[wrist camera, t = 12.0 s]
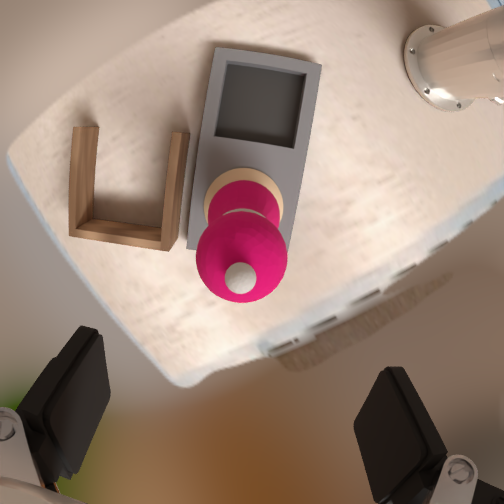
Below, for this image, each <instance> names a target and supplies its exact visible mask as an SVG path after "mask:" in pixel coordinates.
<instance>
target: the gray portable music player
mask: <svg viewBox="0 0 504 504" xmlns="http://www.w3.org/2000/svg"><path fill="white" fill-rule="evenodd" d="M321 67H322V65H321V64H317V63H313V62H308V61H304V60H299V59H294V58H289V57H284V56H278V55H272V54H266V53H260V52H253V51H246V50H238V49H230V48H220V47H215V52H214V57H213V62H212V68H211V73H210V79H209V84H208V90H207V96H206V102H205V108H204V114H203V120H202V126H201V133H200V140H199V146H198V153H197V161H196V168H195V176H194V183H193V192H192V200H191V209H190V218H189V227H188V237H187V247H186V249H191V250H197V245H198V242H199V239H200V237H201V235H202V233H203V232H204V230H205V229H206V228H207V227H208V226H209V225H208V209H209V205H210V202H211V200H212V198H213V196H214V195H215V194H216V193H217V191H218V190H219V189H221V188H222V187H223V186H225V185H227V184H229V183H231V182H234V181H238V180H249V181H254V182H257V183H259V184H261V185H263V186H265V187H266V188H267V189H268V190H269V191H271V193H272V194H273V195H274V197H275V198H276V200H277V203H278V205H279V210H280V223H279V227H278V230H279V231H280V233H281V235H282V237H283V239H284V241H285V243H286V249H287V253H288V248H289V243H290V239H291V234H292V229H293V224H294V219H295V214H296V209H297V204H298V198H299V193H300V188H301V183H302V177H303V172H304V167H305V161H306V156H307V150H308V145H309V139H310V134H311V128H312V122H313V116H314V110H315V104H316V98H317V92H318V86H319V80H320V74H321Z"/></svg>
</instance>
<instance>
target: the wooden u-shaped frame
mask: <svg viewBox="0 0 504 504" xmlns="http://www.w3.org/2000/svg"><path fill="white" fill-rule="evenodd" d="M98 134H99V127H73V136H72V147H71V160H70V178H69V236H72V237H78V238H84V239H90V240H97V241H103V242H109V243H116V244H122V245H129V246H135V247H141V248H148V249H154V250H161V251H168V252H169V251H170V249H171V248H172V246H173V245H174V243H175V242H176V240H177V239H178V232H179V221H180V211H181V202H182V193H183V184H184V176H185V168H186V160H187V153H188V146H189V139H190V133H180V132H172V137H171V145H170V152H169V160H168V169H167V178H166V187H165V197H164V208H163V219H162V228H157V227H150V226H143V225H136V224H129V223H122V222H114V221H107V220H100V219H93V202H94V181H95V166H96V154H97V143H98Z"/></svg>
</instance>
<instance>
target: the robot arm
mask: <svg viewBox="0 0 504 504" xmlns="http://www.w3.org/2000/svg"><path fill="white" fill-rule="evenodd" d="M404 62H405V66H406V70H407V73H408V76H409V78H410V80H411V82H412V84H413V86H414V87H415V89H416V90H417V91H418V93H419V94H420V95H421V96H422V97H423V98H424V99H425V100H426V101H427V102H428V103H430V104H431V105H432V106H434V107H436V108H438V109H440V110H443V111H449V112H455V111H461V110H464V109H466V108H468V107H469V106H470V105H471V104H472V103H473V102H474V100H475V99H477V98H484V99H485V98H488V99H489V100H490V101H492V102H494V103H495V104H497V105H501V104H502V103H503V102H504V5H502V6H500V7H497V8H494V9H492V10H489V11H487V12H484V13H482V14H479V15H476V16H474V17H471V18H469V19H467V20H464V21H462V22H459V23H457V24H455V25H452V26H450V27H448V28H444V27H442V26H437V25H425V26H422V27H420V28H418V29H416V30H415V31H414V32H412V33H411V34H410V36H409V37H408V39H407V41H406V44H405V49H404ZM424 91H425V92H424ZM110 393H111V392H110V386H109V379H108V373H107V366H106V359H105V351H104V343H103V337H102V335H100V334H99V333H98V330H96V329H93V328H90V327H85V326H80V327H79V328H78V329H77V330H76V332H75V333H74V334H73V336H72V337H71V338H70V340H69V341H68V342H67V343H66V345H65V346H64V347H63V349H62V350H61V352H60V353H59V354H58V356H57V357H55V358H53V359H52V360H51V361H50V362H49V363H48V365H47V366H46V368H45V369H44V370H43V372H42V373H41V374H40V376H39V377H38V378H37V380H36V381H35V383H34V384H33V386H32V387H31V388H30V390H29V391H28V393H27V394H26V396H25V397H24V398H23V400H22V402H21V403H20V404H19V406H18V407H17V409H16V411H13V410H11V409H9V408H5V407H0V504H87V503H84V502H81V501H78V500H75V499H72V498H70V497H67V496H64V495H62V494H60V493H59V490H58V487H57V485H56V483H55V482H57V480H58V478H59V476H62V477H64V478H67V479H71V477H72V475H73V473H74V474H77V473H78V471H79V469H80V467H81V465H82V462H83V460H84V457H85V455H86V452H87V450H88V448H89V445H90V443H91V440H92V438H93V436H94V434H95V431H96V429H97V426H98V424H99V422H100V420H101V418H102V415H103V413H104V411H105V409H106V406H107V404H108V402H109V399H110ZM354 432H355V435H356V438H357V442H358V445H359V448H360V452H361V456H362V459H363V462H364V466H365V470H366V473H367V477H368V480H369V484H370V488H371V492H372V495H373V499H374V501H375V502H376V503H378V504H504V491H503V490H501V489H499V488H496V487H494V486H492V485H490V484H488V483H485V482H483V481H481V480H479V479H477V478H478V471H477V467H476V466H475V464H474V463H473V462H472V461H471V460H470V459H469V458H467V457H465V456H462V455H453V456H450V457H449V458H447V456H446V454H447V452H448V451H447V449H446V447H445V445H444V443H443V441H442V439H441V437H440V435H439V433H438V431H437V429H436V427H435V426H434V423H433V422H432V420H431V418H430V416H429V414H428V412H427V410H426V408H425V406H424V405H423V402H422V401H421V399H420V397H419V395H418V393H417V391H416V389H415V388H414V386H413V384H412V382H411V381H410V379H409V377H408V375H407V373H406V372H405V370H404V368H403V367H386V368H385V369H384V371H381V372H380V373H379V375H378V377H377V379H376V381H375V383H374V385H373V387H372V389H371V391H370V393H369V395H368V397H367V399H366V401H365V402H364V404H363V406H362V408H361V410H360V412H359V414H358V415H357V417H356V419H355V421H354Z"/></svg>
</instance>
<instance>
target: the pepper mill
mask: <svg viewBox="0 0 504 504" xmlns="http://www.w3.org/2000/svg"><path fill="white" fill-rule="evenodd" d="M279 223H280V210H279V205H278V203H277V200H276V198H275V197H274V195H273V194H272V193H271V191H269V190H268V189H267V188H266V187H265V186H263V185H261V184H259V183H257V182H254V181H249V180H238V181H234V182H231V183H229V184H227V185H225V186H223V187H222V188H221V189H219V190H218V191H217V193H216V194H215V195H214V196H213V198H212V200H211V202H210V205H209V209H208V225H209V226H208V227H207V228H206V229H205V230H204V232H203V233H202V235H201V237H200V239H199V242H198V245H197V251H196V264H197V269H198V272H199V275H200V277H201V279H202V281H203V282H204V284H205V285H206V286H207V287H208V289H209V290H210V291H211V292H213V293H214V294H215V295H217V296H219V297H221V298H223V299H225V300H228V301H231V302H237V303H247V302H253V301H256V300H259V299H261V298H263V297H265V296H266V295H268V294H270V293H271V292H272V291H273V290H274V289H275V288H276V287H277V286H278V284H279V283H280V281H281V280H282V278H283V276H284V273H285V270H286V266H287V249H286V243H285V241H284V239H283V237H282V235H281V233H280V231H279V230H278V227H279Z"/></svg>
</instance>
